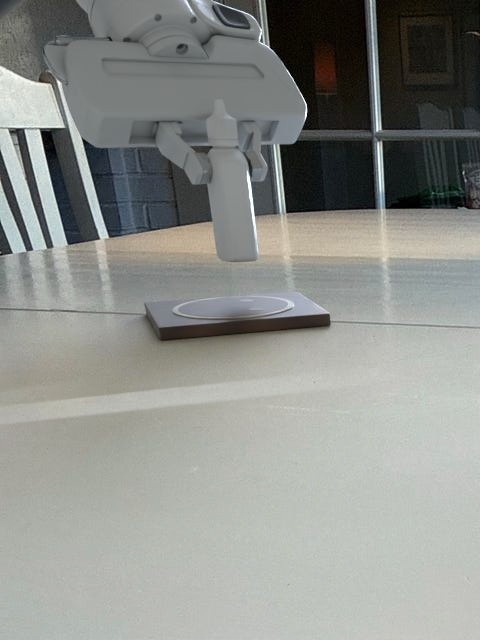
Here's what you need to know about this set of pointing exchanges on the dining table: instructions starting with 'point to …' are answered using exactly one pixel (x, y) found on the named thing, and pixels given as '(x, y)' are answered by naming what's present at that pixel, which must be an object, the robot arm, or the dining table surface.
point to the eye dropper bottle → (230, 190)
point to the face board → (234, 315)
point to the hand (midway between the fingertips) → (232, 177)
